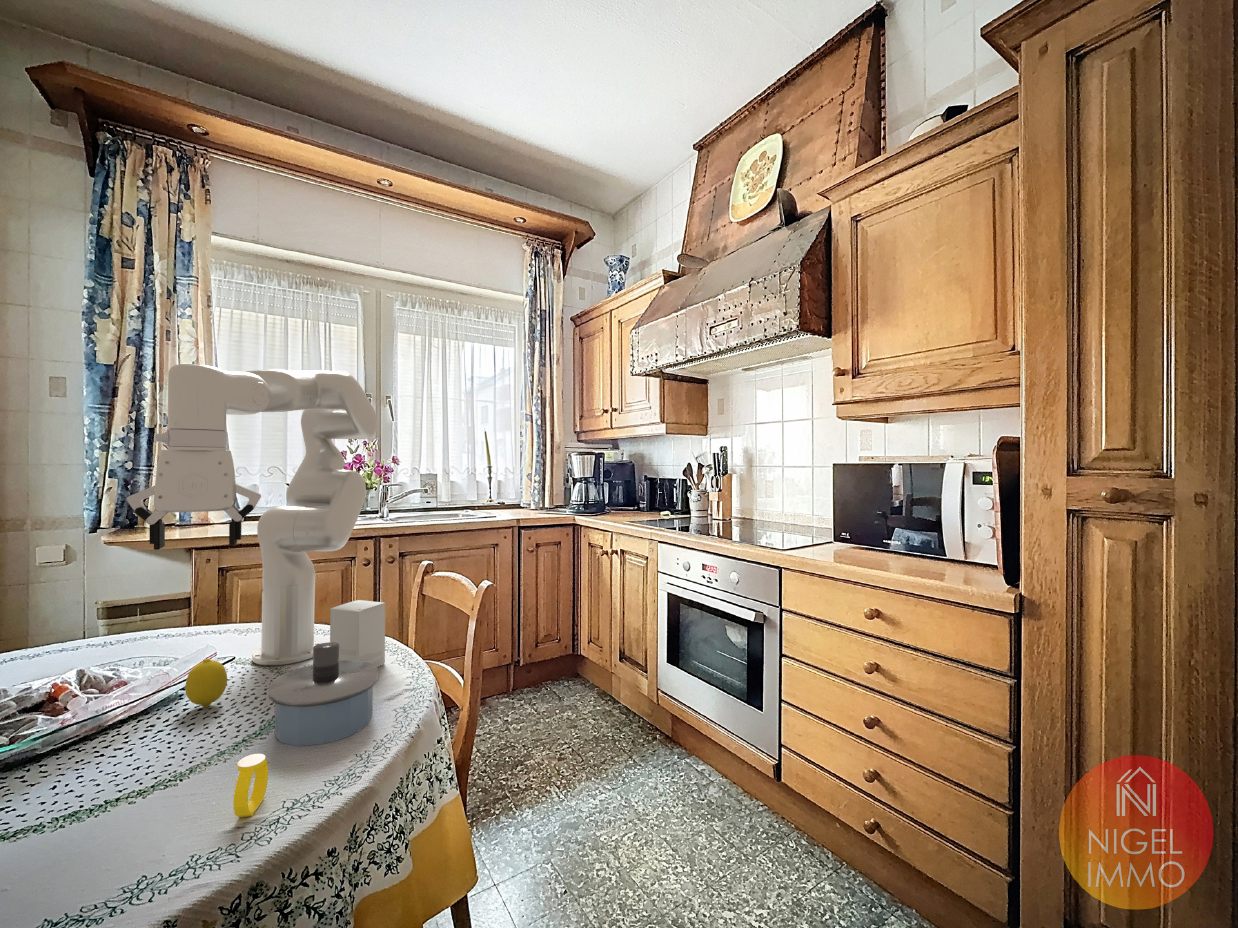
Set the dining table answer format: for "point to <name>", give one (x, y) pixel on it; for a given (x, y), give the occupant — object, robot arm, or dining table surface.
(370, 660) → the supplement box
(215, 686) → the lemon
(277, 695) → the lid
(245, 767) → the watch
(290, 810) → the dining table surface
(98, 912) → the dining table surface
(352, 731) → the bowl
